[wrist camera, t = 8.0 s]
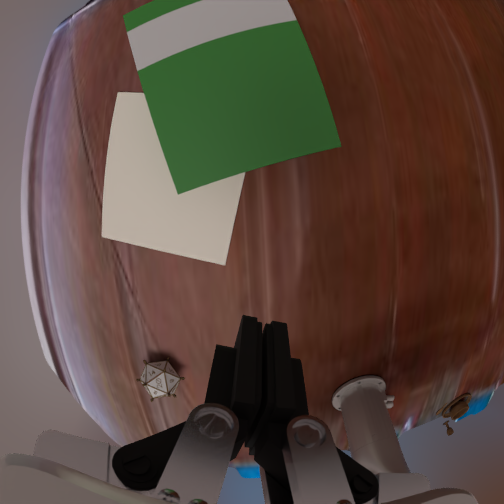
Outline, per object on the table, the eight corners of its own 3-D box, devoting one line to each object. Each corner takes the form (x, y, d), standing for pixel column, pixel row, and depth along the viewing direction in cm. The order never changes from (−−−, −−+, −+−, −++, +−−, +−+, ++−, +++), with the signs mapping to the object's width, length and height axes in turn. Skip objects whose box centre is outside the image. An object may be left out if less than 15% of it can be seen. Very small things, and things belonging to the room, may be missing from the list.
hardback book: (324, 145, 32) (267, -6, 24) (341, 146, 25) (269, -33, 17) (193, 184, 35) (145, 34, 26) (178, 194, 28) (122, 15, 19)
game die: (161, 348, 52) (127, 354, 43) (195, 360, 49) (163, 371, 40) (157, 385, 51) (125, 396, 42) (190, 400, 48) (159, 415, 39)
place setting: (479, 388, 58) (486, 400, 52) (446, 423, 65) (451, 435, 60) (451, 394, 56) (458, 407, 51) (416, 430, 64) (420, 443, 59)
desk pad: (260, 109, 31) (260, 108, 31) (225, 264, 40) (225, 265, 39) (119, 92, 30) (118, 92, 29) (103, 235, 38) (101, 236, 38)
